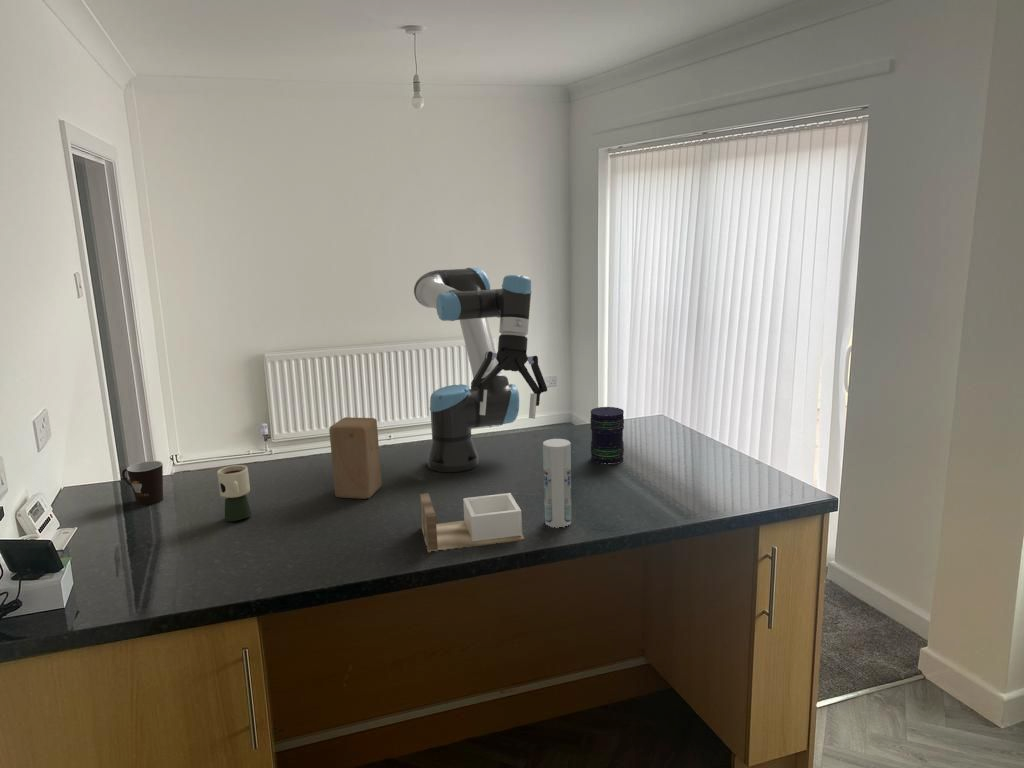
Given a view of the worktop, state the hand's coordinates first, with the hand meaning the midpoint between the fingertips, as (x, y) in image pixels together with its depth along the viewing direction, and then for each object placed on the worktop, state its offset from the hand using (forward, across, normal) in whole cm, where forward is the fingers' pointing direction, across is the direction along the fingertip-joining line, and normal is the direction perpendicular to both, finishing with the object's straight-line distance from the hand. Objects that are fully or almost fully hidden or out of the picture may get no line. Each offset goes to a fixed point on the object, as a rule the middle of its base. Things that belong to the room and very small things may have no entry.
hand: (507, 416), depth 190 cm
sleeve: (+26, -7, -16) cm, 31 cm away
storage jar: (+11, +38, +18) cm, 44 cm away
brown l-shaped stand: (+27, -12, -15) cm, 34 cm away
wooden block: (+24, -34, +22) cm, 46 cm away
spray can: (+24, +9, -18) cm, 31 cm away
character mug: (+30, -64, +16) cm, 72 cm away
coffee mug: (+30, -87, +40) cm, 101 cm away
